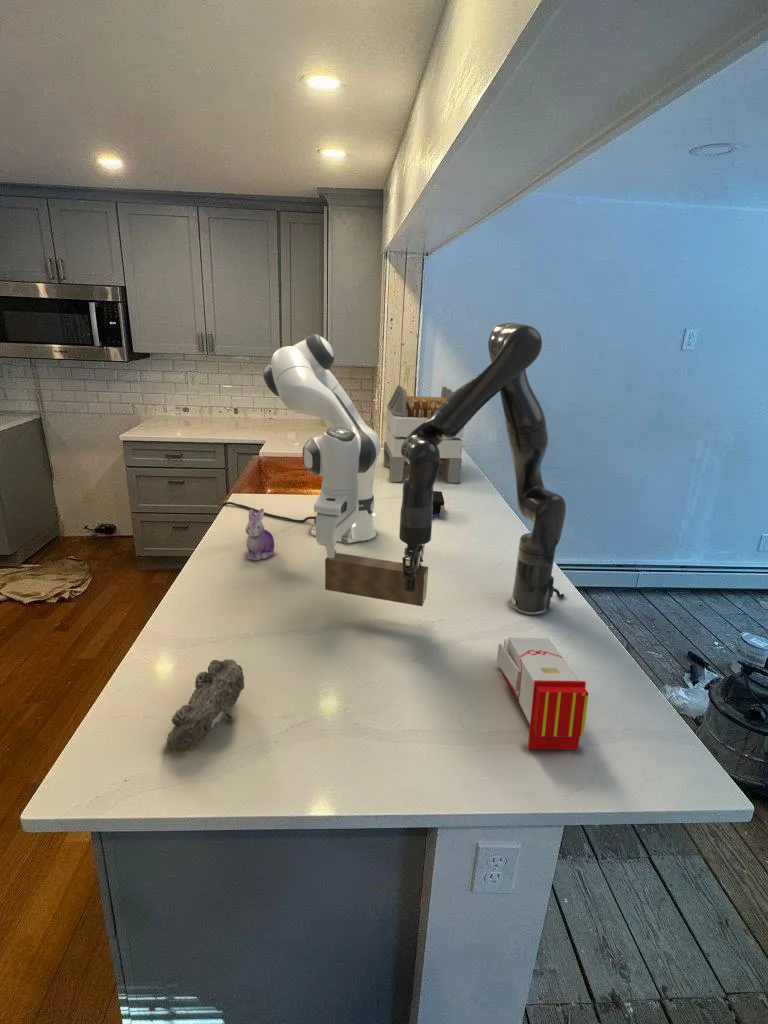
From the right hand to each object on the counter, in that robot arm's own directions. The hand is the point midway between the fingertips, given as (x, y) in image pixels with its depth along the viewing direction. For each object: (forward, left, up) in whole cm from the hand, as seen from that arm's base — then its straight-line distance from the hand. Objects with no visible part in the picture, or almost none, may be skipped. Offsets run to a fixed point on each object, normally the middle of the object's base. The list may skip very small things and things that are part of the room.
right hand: (412, 585), depth 139 cm
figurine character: (-41, -74, -11) cm, 85 cm away
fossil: (+49, +20, -11) cm, 54 cm away
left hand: (+16, -11, +7) cm, 20 cm away
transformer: (-58, -129, -11) cm, 142 cm away
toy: (-13, +34, -11) cm, 39 cm away
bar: (+8, -5, -4) cm, 10 cm away
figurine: (+29, -52, -11) cm, 61 cm away
